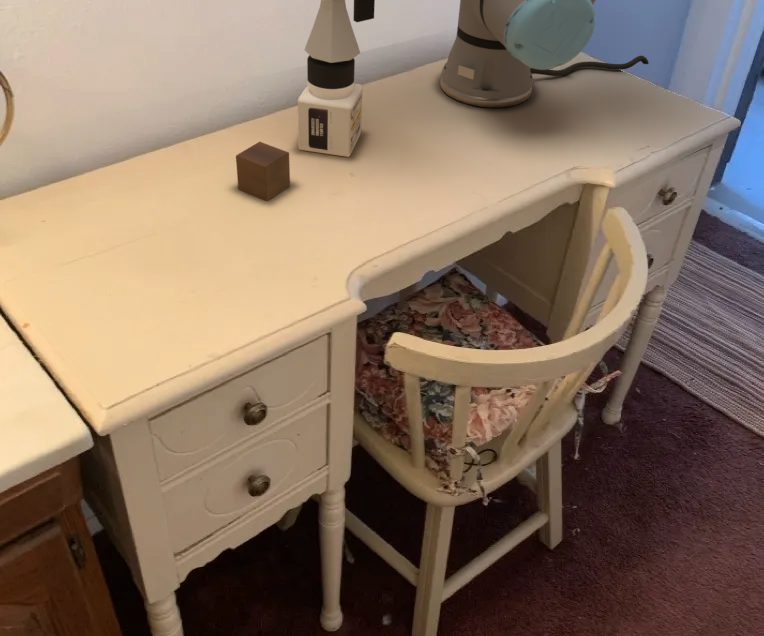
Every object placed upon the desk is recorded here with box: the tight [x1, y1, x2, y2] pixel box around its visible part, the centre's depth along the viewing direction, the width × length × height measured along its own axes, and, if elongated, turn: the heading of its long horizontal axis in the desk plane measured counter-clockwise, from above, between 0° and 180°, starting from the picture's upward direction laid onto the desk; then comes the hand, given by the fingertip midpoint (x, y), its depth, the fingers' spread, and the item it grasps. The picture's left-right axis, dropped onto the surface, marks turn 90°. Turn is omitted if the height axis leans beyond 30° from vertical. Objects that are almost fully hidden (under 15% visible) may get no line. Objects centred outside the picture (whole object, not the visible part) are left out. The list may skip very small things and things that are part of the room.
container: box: [297, 54, 364, 158], centre depth 119 cm, size 8×8×13 cm
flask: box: [304, 0, 361, 63], centre depth 111 cm, size 7×7×10 cm
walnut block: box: [235, 141, 291, 202], centre depth 111 cm, size 5×5×5 cm
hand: (333, 3), depth 110 cm, fingers open, 13 cm apart
